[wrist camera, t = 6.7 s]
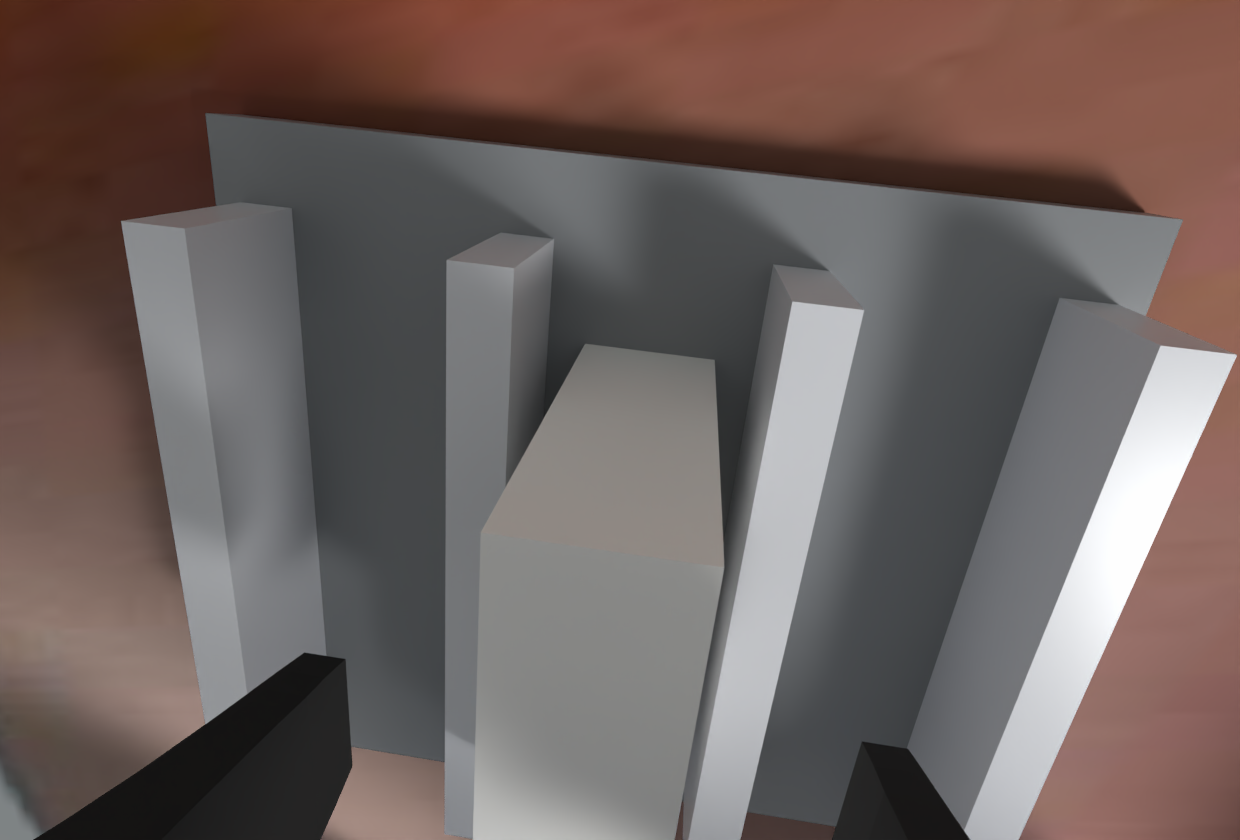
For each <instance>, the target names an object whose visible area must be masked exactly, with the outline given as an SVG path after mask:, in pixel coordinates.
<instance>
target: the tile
mask: <svg viewBox="0 0 1240 840" xmlns="http://www.w3.org/2000/svg"><path fill="white" fill-rule="evenodd" d="M723 573H724V547H723V526H722V505H721V484H720V462H719V441H718V420H717V399H716V378H715V360H711V359H703V358H695V357H687V356H679V355H671V354H663V353H655V352H647V351H640V350H632V349H624V348H616V347H608V346H600V345H592V344H585V345H584V347H583V349H582V350H581V352H580V354H579V356H578V358H577V359H576V361H575V363H574V365H573V367H572V368H571V370H570V372H569V374H568V376H567V377H566V379H565V381H564V383H563V385H562V386H561V388H560V390H559V392H558V394H557V395H556V397H555V399H554V401H553V403H552V405H551V406H550V408H549V410H548V412H547V414H546V415H545V417H544V419H543V421H542V423H541V424H540V426H539V428H538V430H537V432H536V433H535V435H534V437H533V439H532V441H531V442H530V444H529V446H528V448H527V450H526V451H525V453H524V455H523V457H522V459H521V460H520V462H519V464H518V466H517V468H516V470H515V471H514V473H513V475H512V477H511V479H510V480H509V482H508V484H507V486H506V488H505V489H504V491H503V493H502V495H501V497H500V498H499V500H498V502H497V504H496V506H495V507H494V509H493V511H492V513H491V515H490V516H489V518H488V520H487V522H486V524H485V526H484V527H483V529H482V531H481V537H480V577H479V616H478V655H477V695H476V734H475V773H474V812H473V840H675V835H676V830H677V825H678V819H679V814H680V808H681V803H682V797H683V792H684V786H685V781H686V775H687V770H688V764H689V759H690V753H691V748H692V742H693V737H694V732H695V726H696V721H697V715H698V710H699V704H700V699H701V693H702V688H703V682H704V677H705V671H706V666H707V660H708V655H709V650H710V644H711V639H712V633H713V628H714V622H715V617H716V611H717V606H718V600H719V595H720V589H721V584H722V578H723Z"/></svg>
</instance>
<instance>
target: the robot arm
mask: <svg viewBox="0 0 1240 840" xmlns="http://www.w3.org/2000/svg"><path fill="white" fill-rule="evenodd" d="M351 768H352V753H351V737H350V721H349V705H348V689H347V673H346V659H342V658H336V657H330V656H324V655H317V654H311V653H305V652H304V653H303V654H302V655H300V656H299V657H297V658H296V659H295V660H293V661H292V662H290V663H289V664H287V665H286V666H285V667H283V668H282V669H280V670H279V671H278V672H276V673H275V674H274V675H272V676H271V677H269V678H268V679H267V680H265V681H264V682H263V683H261V684H260V685H259V686H257V687H256V688H254V689H253V690H252V691H250V692H249V693H248V694H246V695H245V696H244V697H242V698H241V699H239V700H238V701H237V702H235V703H234V704H233V705H231V706H230V707H229V708H227V709H226V710H224V711H223V712H222V713H220V714H219V715H218V716H216V717H215V718H213V719H212V720H211V721H209V722H208V723H207V724H205V725H204V726H202V727H201V728H200V729H198V730H197V731H195V732H194V733H193V734H191V735H190V736H188V737H187V738H185V739H184V740H183V741H181V742H180V743H178V744H177V745H176V746H174V747H173V748H171V749H170V750H169V751H167V752H166V753H164V754H163V755H161V756H160V757H159V758H157V759H156V760H154V761H153V762H152V763H150V764H149V765H147V766H146V767H144V768H143V769H141V770H140V771H139V772H137V773H136V774H134V775H133V776H131V777H130V778H128V779H127V780H125V781H123V782H122V783H120V784H119V785H117V786H116V787H114V788H113V789H111V790H110V791H108V792H107V793H105V794H104V795H102V796H101V797H99V798H98V799H96V800H95V801H93V802H92V803H90V804H89V805H87V806H86V807H84V808H83V809H81V810H80V811H78V812H77V813H75V814H74V815H72V816H70V817H69V818H67V819H66V820H64V821H63V822H61V823H60V824H58V825H56V826H55V827H53V828H52V829H50V830H48V831H47V832H45V833H44V834H42V835H40V836H39V837H37V838H36V839H34V840H320V839H321V837H322V835H323V832H324V830H325V828H326V826H327V824H328V821H329V819H330V817H331V815H332V812H333V810H334V808H335V806H336V803H337V801H338V799H339V796H340V794H341V792H342V789H343V787H344V785H345V782H346V780H347V777H348V775H349V773H350V770H351ZM832 840H970V839H969V837H968V836H967V834H966V833H965V831H964V830H963V828H962V827H961V825H960V824H959V823H958V821H957V820H956V818H955V817H954V815H953V814H952V812H951V811H950V809H949V808H948V806H947V805H946V803H945V802H944V800H943V799H942V797H941V796H940V795H939V793H938V792H937V790H936V789H935V787H934V786H933V784H932V783H931V781H930V780H929V778H928V777H927V775H926V774H925V772H924V771H923V769H922V768H921V766H920V765H919V763H918V762H917V761H916V759H915V758H914V756H913V755H912V753H911V752H910V751H909V749H907V748H900V747H894V746H888V745H881V744H875V743H869V742H863V741H862V743H861V746H860V749H859V752H858V756H857V759H856V762H855V766H854V769H853V772H852V775H851V779H850V782H849V785H848V789H847V792H846V795H845V799H844V802H843V805H842V808H841V812H840V815H839V818H838V822H837V825H836V828H835V831H834V835H833V838H832Z"/></svg>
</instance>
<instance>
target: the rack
mask: <svg viewBox="0 0 1240 840" xmlns="http://www.w3.org/2000/svg"><path fill="white" fill-rule="evenodd" d="M205 115H206V123H207V132H208V140H209V149H210V157H211V166H212V175H213V183H214V192H215V200H216V206H213V207H207V208H201V209H194V210H188V211H182V212H175V213H169V214H162V215H156V216H150V217H143V218H137V219H131V220H124V221H121V224H122V230H123V236H124V242H125V248H126V254H127V260H128V266H129V272H130V278H131V284H132V290H133V296H134V302H135V308H136V314H137V320H138V326H139V332H140V337H141V343H142V349H143V355H144V361H145V367H146V373H147V379H148V385H149V391H150V397H151V403H152V409H153V415H154V421H155V427H156V433H157V439H158V445H159V451H160V457H161V463H162V469H163V474H164V480H165V486H166V492H167V498H168V504H169V510H170V516H171V522H172V528H173V534H174V540H175V546H176V552H177V558H178V564H179V570H180V576H181V582H182V588H183V594H184V600H185V606H186V612H187V617H188V623H189V629H190V635H191V641H192V647H193V653H194V659H195V665H196V671H197V677H198V683H199V689H200V695H201V701H202V707H203V713H204V719H205V724H207V723H208V722H209V721H211V720H212V719H213V718H215V717H216V716H218V715H219V714H220V713H222V712H223V711H224V710H226V709H227V708H229V707H230V706H231V705H233V704H234V703H235V702H237V701H238V700H239V699H241V698H242V697H244V696H245V695H246V694H248V693H249V692H250V691H252V690H253V689H254V688H256V687H257V686H259V685H260V684H261V683H263V682H264V681H265V680H267V679H268V678H269V677H271V676H272V675H274V674H275V673H276V672H278V671H279V670H280V669H282V668H283V667H285V666H286V665H287V664H289V663H290V662H292V661H293V660H295V659H296V658H297V657H299V656H300V655H302V654H303V653H304V652H305V653H311V654H317V655H324V656H330V657H336V658H342V659H346V673H347V689H348V705H349V721H350V737H351V747H357V748H363V749H369V750H375V751H381V752H387V753H393V754H399V755H405V756H411V757H417V758H423V759H429V760H435V761H441V762H445V834H447V835H453V836H459V837H464V838H470V839H473V812H474V773H475V734H476V695H477V655H478V616H479V577H480V537H481V531H482V529H483V527H484V526H485V524H486V522H487V520H488V518H489V516H490V515H491V513H492V511H493V509H494V507H495V506H496V504H497V502H498V500H499V498H500V497H501V495H502V493H503V491H504V489H505V488H506V486H507V484H508V482H509V480H510V479H511V477H512V475H513V473H514V471H515V470H516V468H517V466H518V464H519V462H520V460H521V459H522V457H523V455H524V453H525V451H526V450H527V448H528V446H529V444H530V442H531V441H532V439H533V437H534V435H535V433H536V432H537V430H538V428H539V426H540V424H541V423H542V421H543V419H544V417H545V415H546V414H547V412H548V410H549V408H550V406H551V405H552V403H553V401H554V399H555V397H556V395H557V394H558V392H559V390H560V388H561V386H562V385H563V383H564V381H565V379H566V377H567V376H568V374H569V372H570V370H571V368H572V367H573V365H574V363H575V361H576V359H577V358H578V356H579V354H580V352H581V350H582V349H583V347H584V345H585V344H592V345H600V346H608V347H616V348H624V349H632V350H640V351H647V352H655V353H663V354H671V355H679V356H687V357H695V358H703V359H711V360H715V378H716V399H717V420H718V441H719V462H720V484H721V505H722V526H723V547H724V573H723V578H722V584H721V589H720V595H719V600H718V606H717V611H716V617H715V622H714V628H713V633H712V639H711V644H710V650H709V655H708V660H707V666H706V671H705V677H704V682H703V688H702V693H701V699H700V704H699V710H698V715H697V721H696V726H695V732H694V737H693V742H692V748H691V753H690V759H689V764H688V770H687V775H686V781H685V786H684V792H683V797H682V801H683V802H684V809H683V840H740V839H741V835H742V830H743V826H744V822H745V818H746V813H747V812H750V813H756V814H762V815H768V816H774V817H780V818H786V819H792V820H798V821H804V822H810V823H816V824H823V825H829V826H835V827H836V825H837V822H838V818H839V815H840V812H841V808H842V805H843V802H844V799H845V795H846V792H847V789H848V785H849V782H850V779H851V775H852V772H853V769H854V766H855V762H856V759H857V756H858V752H859V749H860V746H861V743H862V741H863V742H869V743H875V744H881V745H888V746H894V747H900V748H907V749H909V751H910V752H911V753H912V755H913V756H914V758H915V759H916V761H917V762H918V763H919V765H920V766H921V768H922V769H923V771H924V772H925V774H926V775H927V777H928V778H929V780H930V781H931V783H932V784H933V786H934V787H935V789H936V790H937V792H938V793H939V795H940V796H941V797H942V799H943V800H944V802H945V803H946V805H947V806H948V808H949V809H950V811H951V812H952V814H953V815H954V817H955V818H956V820H957V821H958V823H959V824H960V825H961V827H962V828H963V830H964V831H965V833H966V834H967V836H968V837H969V839H970V840H1019V838H1020V835H1021V833H1022V831H1023V829H1024V827H1025V824H1026V822H1027V820H1028V818H1029V815H1030V813H1031V811H1032V809H1033V807H1034V804H1035V802H1036V800H1037V798H1038V796H1039V793H1040V791H1041V789H1042V787H1043V784H1044V782H1045V780H1046V778H1047V776H1048V773H1049V771H1050V769H1051V767H1052V764H1053V762H1054V760H1055V758H1056V756H1057V753H1058V751H1059V749H1060V747H1061V744H1062V742H1063V740H1064V738H1065V736H1066V733H1067V731H1068V729H1069V727H1070V725H1071V722H1072V720H1073V718H1074V716H1075V713H1076V711H1077V709H1078V707H1079V705H1080V702H1081V700H1082V698H1083V696H1084V693H1085V691H1086V689H1087V687H1088V685H1089V682H1090V680H1091V678H1092V676H1093V674H1094V671H1095V669H1096V667H1097V665H1098V662H1099V660H1100V658H1101V656H1102V654H1103V651H1104V649H1105V647H1106V645H1107V642H1108V640H1109V638H1110V636H1111V634H1112V631H1113V629H1114V627H1115V625H1116V622H1117V620H1118V618H1119V616H1120V614H1121V611H1122V609H1123V607H1124V605H1125V603H1126V600H1127V598H1128V596H1129V594H1130V591H1131V589H1132V587H1133V585H1134V583H1135V580H1136V578H1137V576H1138V574H1139V571H1140V569H1141V567H1142V565H1143V563H1144V560H1145V558H1146V556H1147V554H1148V551H1149V549H1150V547H1151V545H1152V543H1153V540H1154V538H1155V536H1156V534H1157V532H1158V529H1159V527H1160V525H1161V523H1162V520H1163V518H1164V516H1165V514H1166V512H1167V509H1168V507H1169V505H1170V503H1171V500H1172V498H1173V496H1174V494H1175V492H1176V489H1177V487H1178V485H1179V483H1180V480H1181V478H1182V476H1183V474H1184V472H1185V469H1186V467H1187V465H1188V463H1189V461H1190V458H1191V456H1192V454H1193V452H1194V449H1195V447H1196V445H1197V443H1198V441H1199V438H1200V436H1201V434H1202V432H1203V429H1204V427H1205V425H1206V423H1207V421H1208V418H1209V416H1210V414H1211V412H1212V410H1213V407H1214V405H1215V403H1216V401H1217V398H1218V396H1219V394H1220V392H1221V390H1222V387H1223V385H1224V383H1225V381H1226V378H1227V376H1228V374H1229V372H1230V370H1231V367H1232V365H1233V363H1234V361H1235V358H1236V356H1237V355H1236V354H1234V353H1232V352H1229V351H1227V350H1225V349H1222V348H1220V347H1218V346H1215V345H1213V344H1210V343H1208V342H1206V341H1203V340H1201V339H1199V338H1196V337H1194V336H1191V335H1189V334H1187V333H1184V332H1182V331H1180V330H1177V329H1175V328H1173V327H1170V326H1168V325H1165V324H1163V323H1161V322H1158V321H1156V320H1154V319H1151V318H1149V317H1147V316H1146V313H1147V311H1148V308H1149V305H1150V303H1151V300H1152V298H1153V295H1154V293H1155V290H1156V288H1157V285H1158V282H1159V280H1160V277H1161V275H1162V272H1163V270H1164V267H1165V264H1166V262H1167V259H1168V257H1169V254H1170V252H1171V249H1172V247H1173V244H1174V241H1175V239H1176V236H1177V234H1178V231H1179V229H1180V226H1181V224H1182V221H1183V220H1182V219H1177V218H1171V217H1166V216H1161V215H1155V214H1150V213H1142V212H1133V211H1124V210H1115V209H1105V208H1096V207H1087V206H1078V205H1069V204H1059V203H1050V202H1041V201H1032V200H1023V199H1013V198H1004V197H995V196H986V195H977V194H967V193H958V192H949V191H940V190H931V189H921V188H912V187H903V186H894V185H885V184H875V183H866V182H857V181H848V180H839V179H829V178H820V177H811V176H802V175H793V174H784V173H774V172H765V171H756V170H747V169H738V168H728V167H719V166H710V165H701V164H692V163H682V162H673V161H664V160H655V159H646V158H636V157H627V156H618V155H609V154H600V153H590V152H581V151H572V150H563V149H554V148H544V147H535V146H526V145H517V144H508V143H498V142H489V141H480V140H471V139H462V138H452V137H443V136H434V135H425V134H416V133H406V132H397V131H388V130H379V129H370V128H360V127H351V126H342V125H333V124H324V123H314V122H305V121H296V120H287V119H278V118H268V117H259V116H250V115H241V114H216V113H205Z"/></svg>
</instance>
